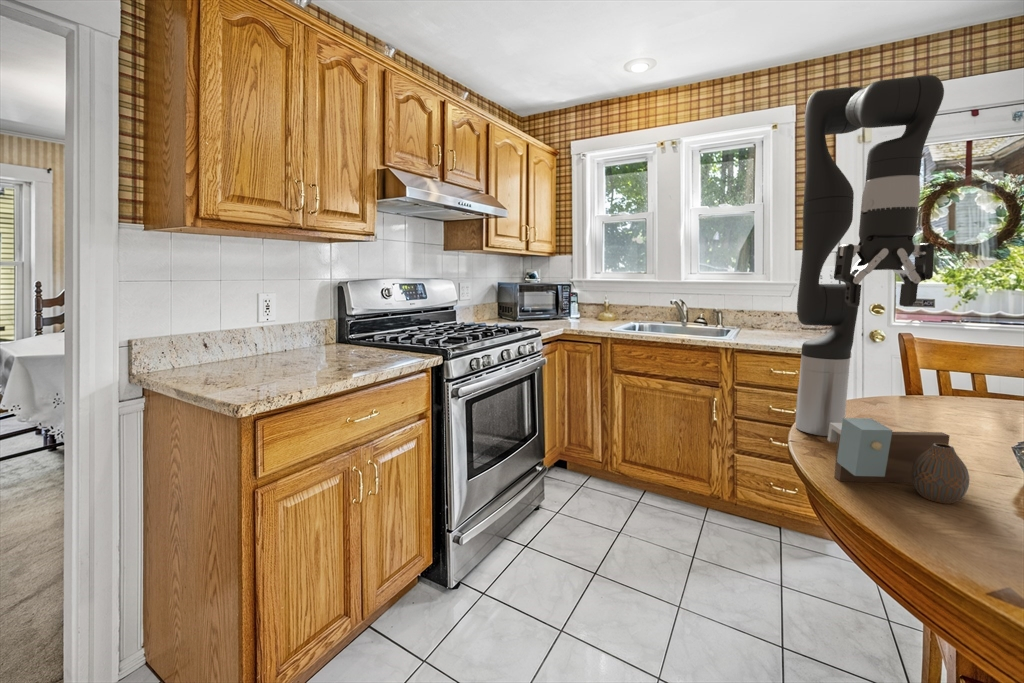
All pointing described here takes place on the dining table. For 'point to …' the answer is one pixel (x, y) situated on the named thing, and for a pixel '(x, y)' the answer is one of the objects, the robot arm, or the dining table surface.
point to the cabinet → (862, 445)
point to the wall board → (897, 456)
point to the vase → (940, 474)
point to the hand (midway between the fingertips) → (879, 306)
